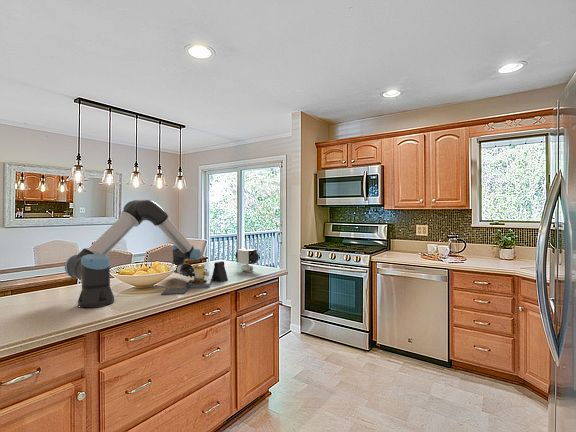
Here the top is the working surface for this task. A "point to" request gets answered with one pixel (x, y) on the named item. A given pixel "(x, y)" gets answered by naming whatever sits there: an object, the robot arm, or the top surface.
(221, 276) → the phone stand
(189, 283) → the housing
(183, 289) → the mat
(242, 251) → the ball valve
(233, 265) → the top surface
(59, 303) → the top surface
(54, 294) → the top surface
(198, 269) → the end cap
